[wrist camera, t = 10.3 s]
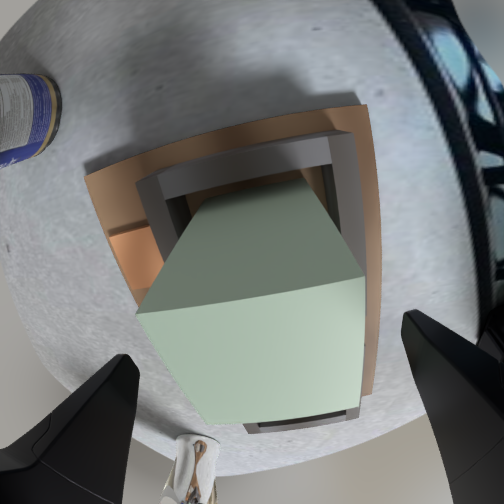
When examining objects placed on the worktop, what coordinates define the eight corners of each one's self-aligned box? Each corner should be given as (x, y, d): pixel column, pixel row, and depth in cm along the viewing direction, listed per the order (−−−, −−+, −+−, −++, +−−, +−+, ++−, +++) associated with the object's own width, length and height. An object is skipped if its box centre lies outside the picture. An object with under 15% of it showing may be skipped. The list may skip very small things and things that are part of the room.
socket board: (361, 104, 13) (389, 103, 10) (369, 388, 24) (378, 418, 21) (90, 173, 16) (55, 190, 12) (206, 410, 26) (202, 439, 23)
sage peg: (304, 177, 15) (364, 276, 6) (317, 265, 17) (359, 406, 8) (205, 198, 15) (135, 314, 7) (230, 281, 18) (206, 424, 9)
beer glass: (165, 439, 31) (145, 530, 18) (187, 427, 29) (167, 535, 15) (207, 455, 33) (196, 542, 20) (234, 444, 30) (226, 544, 17)
